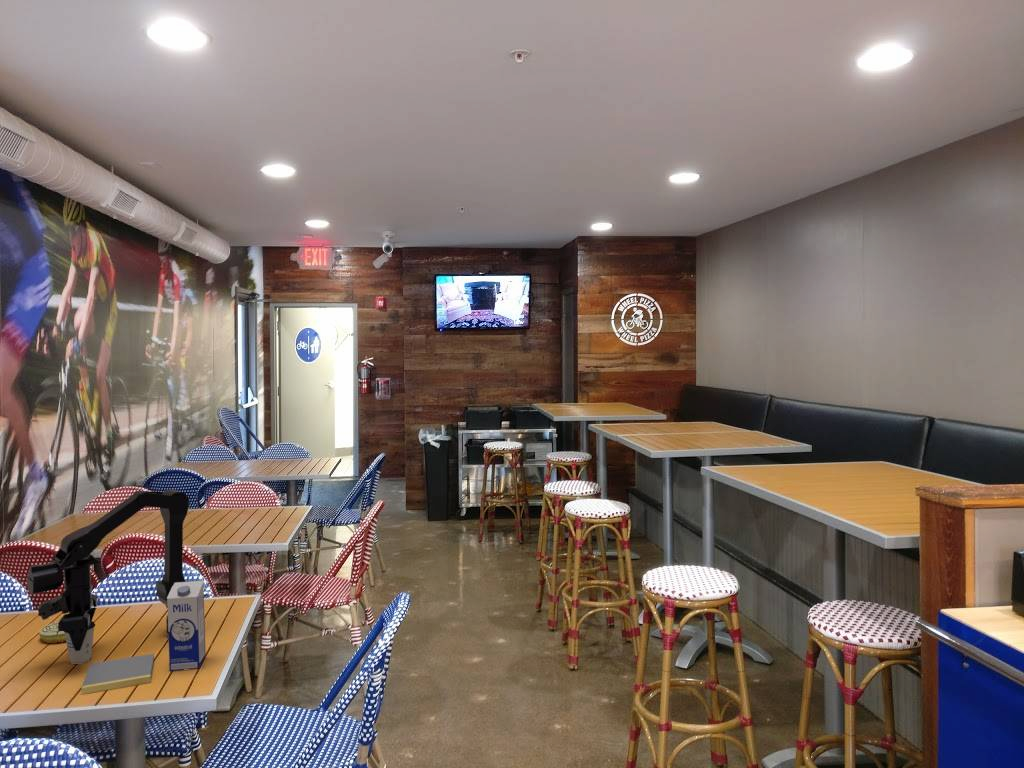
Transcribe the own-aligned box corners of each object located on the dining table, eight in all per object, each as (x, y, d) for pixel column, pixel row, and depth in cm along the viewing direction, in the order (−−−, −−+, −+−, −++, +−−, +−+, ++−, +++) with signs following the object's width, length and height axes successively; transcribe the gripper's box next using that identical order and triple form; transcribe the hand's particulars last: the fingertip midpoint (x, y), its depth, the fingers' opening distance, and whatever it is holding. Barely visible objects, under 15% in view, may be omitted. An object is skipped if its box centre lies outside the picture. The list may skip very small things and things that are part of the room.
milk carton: (206, 657, 181) (204, 579, 180) (199, 668, 174) (197, 588, 173) (176, 659, 179) (174, 581, 179) (168, 671, 173) (166, 590, 172)
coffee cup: (93, 652, 184) (92, 614, 184) (99, 661, 179) (97, 622, 179) (62, 660, 180) (61, 621, 179) (66, 669, 175) (65, 629, 174)
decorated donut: (69, 628, 202) (68, 614, 202) (93, 633, 197) (93, 620, 197) (31, 641, 193) (30, 627, 192) (55, 647, 188) (55, 633, 188)
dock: (154, 659, 180) (153, 653, 180) (150, 682, 167) (150, 676, 167) (90, 669, 174) (90, 663, 174) (81, 694, 161) (81, 688, 161)
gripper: (47, 578, 184) (49, 637, 185) (31, 600, 167) (34, 665, 167) (96, 572, 188) (99, 630, 189) (86, 593, 171) (88, 657, 172)
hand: (80, 645), depth 179 cm, fingers closed on coffee cup, 7 cm apart
